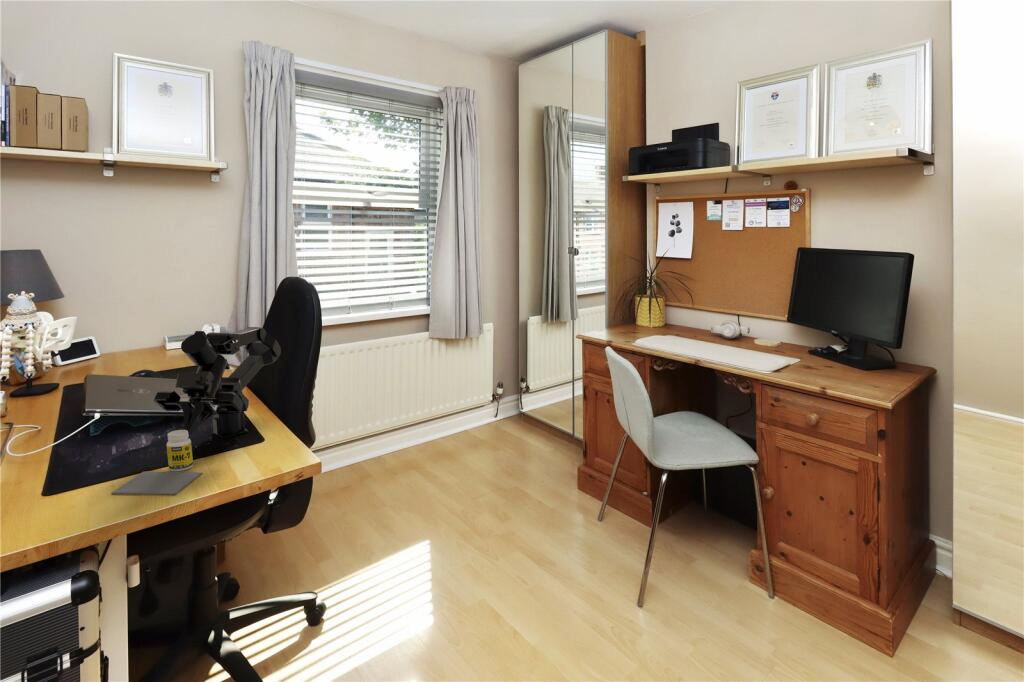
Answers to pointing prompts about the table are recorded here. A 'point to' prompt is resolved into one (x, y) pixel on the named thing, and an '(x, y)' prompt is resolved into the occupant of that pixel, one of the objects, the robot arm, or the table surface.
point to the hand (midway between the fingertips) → (187, 434)
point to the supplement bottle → (179, 451)
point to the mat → (157, 483)
